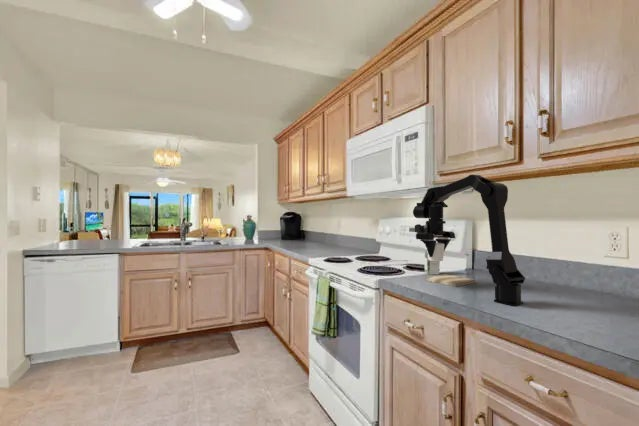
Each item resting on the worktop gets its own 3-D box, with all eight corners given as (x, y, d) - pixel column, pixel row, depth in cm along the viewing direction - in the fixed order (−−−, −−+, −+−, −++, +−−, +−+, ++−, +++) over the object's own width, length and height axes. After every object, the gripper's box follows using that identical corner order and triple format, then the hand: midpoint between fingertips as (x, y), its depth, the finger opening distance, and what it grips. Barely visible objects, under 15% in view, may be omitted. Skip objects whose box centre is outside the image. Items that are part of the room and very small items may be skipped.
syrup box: (424, 272, 156) (424, 243, 156) (436, 272, 156) (436, 243, 156) (427, 274, 151) (427, 244, 151) (440, 274, 150) (440, 244, 150)
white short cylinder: (442, 261, 125) (442, 244, 125) (424, 260, 129) (424, 243, 129) (446, 259, 130) (446, 243, 131) (429, 258, 135) (429, 242, 135)
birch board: (475, 282, 133) (475, 279, 133) (455, 286, 125) (455, 283, 125) (445, 276, 145) (445, 274, 145) (426, 280, 137) (426, 277, 137)
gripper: (432, 218, 142) (432, 252, 142) (405, 218, 131) (405, 255, 131) (455, 218, 133) (455, 255, 132) (428, 218, 122) (428, 259, 122)
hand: (435, 256), depth 130 cm, fingers closed on white short cylinder, 6 cm apart
